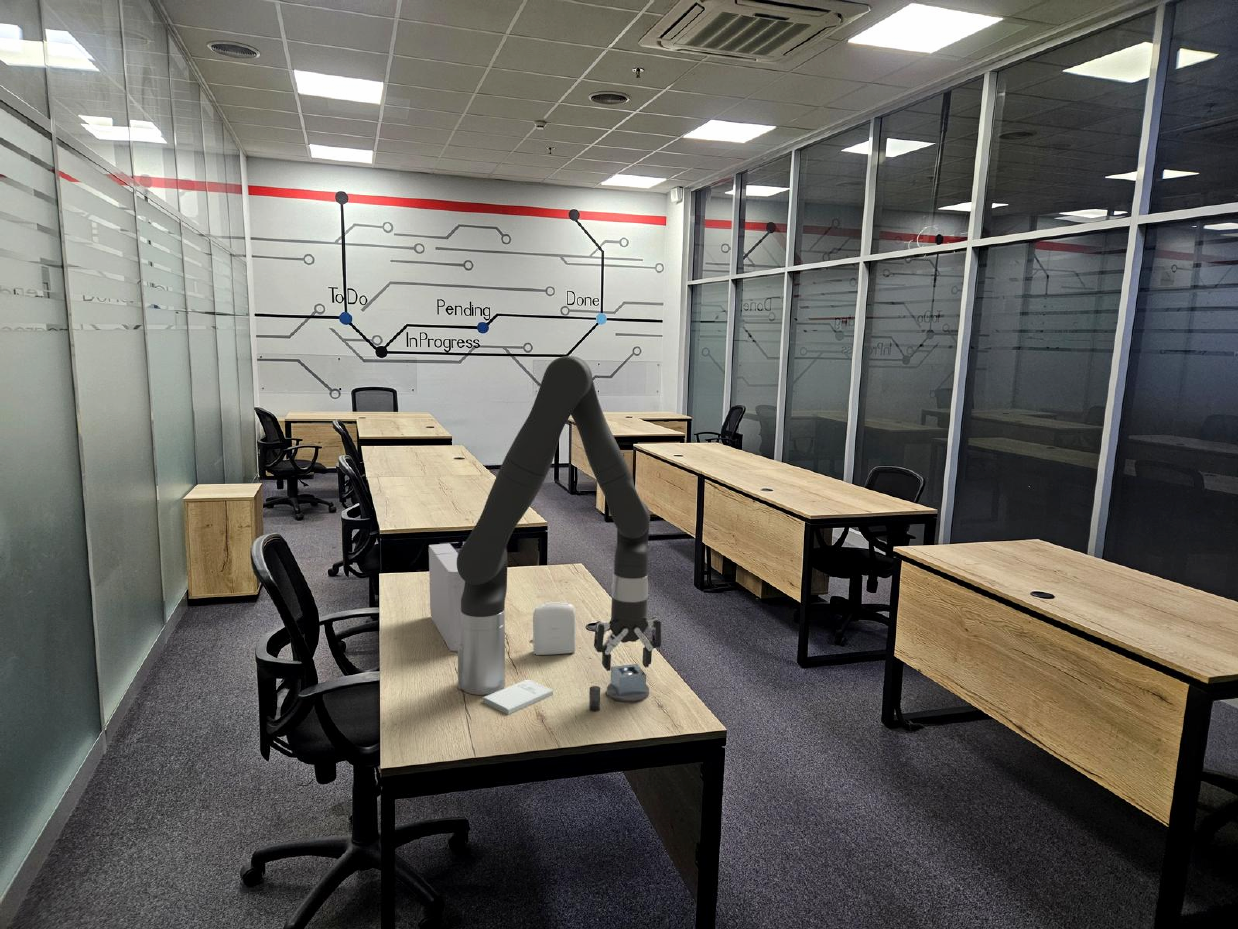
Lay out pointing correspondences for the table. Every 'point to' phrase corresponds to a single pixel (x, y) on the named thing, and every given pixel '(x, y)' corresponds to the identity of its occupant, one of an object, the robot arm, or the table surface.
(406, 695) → the table surface
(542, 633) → the photo printer
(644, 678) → the hollow square housing
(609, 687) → the hub
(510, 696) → the external hard drive
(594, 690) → the stand rod
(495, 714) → the table surface
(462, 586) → the game console
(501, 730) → the table surface
